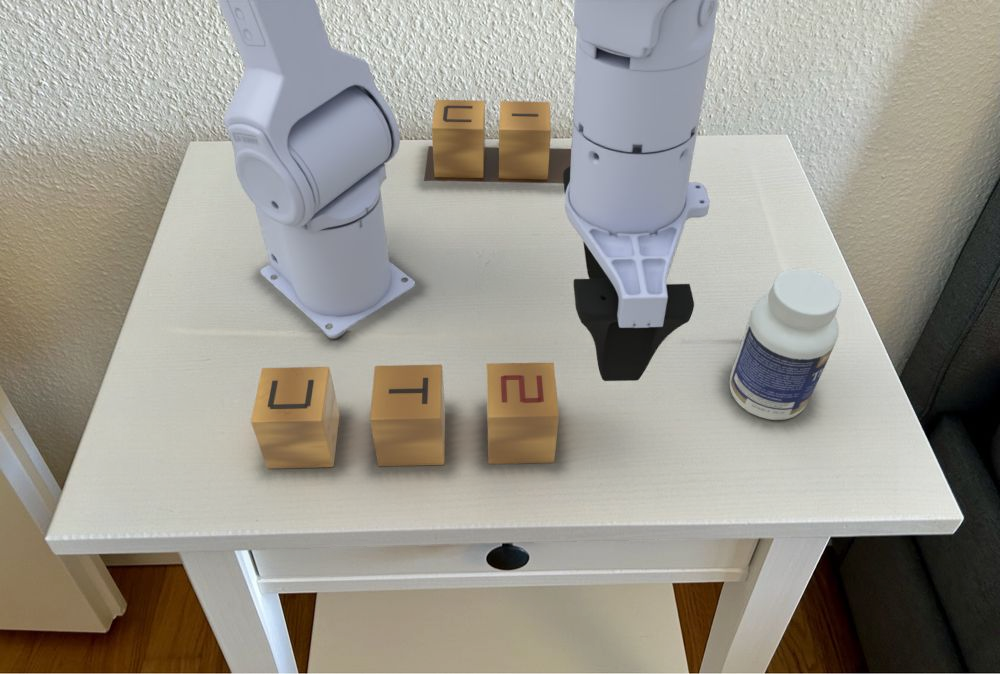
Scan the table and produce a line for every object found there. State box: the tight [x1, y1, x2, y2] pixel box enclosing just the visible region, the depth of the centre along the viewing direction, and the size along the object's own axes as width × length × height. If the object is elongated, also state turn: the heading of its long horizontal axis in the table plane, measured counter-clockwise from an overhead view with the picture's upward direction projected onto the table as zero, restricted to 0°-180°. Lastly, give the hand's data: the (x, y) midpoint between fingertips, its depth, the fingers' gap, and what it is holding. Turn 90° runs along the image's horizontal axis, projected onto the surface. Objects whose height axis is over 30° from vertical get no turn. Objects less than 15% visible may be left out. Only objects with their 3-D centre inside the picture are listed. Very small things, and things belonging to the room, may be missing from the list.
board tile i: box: [498, 100, 552, 180], centre depth 72 cm, size 4×4×5 cm
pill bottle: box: [729, 267, 842, 421], centre depth 54 cm, size 5×5×10 cm
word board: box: [423, 145, 571, 185], centre depth 74 cm, size 20×5×1 cm, turn 89°
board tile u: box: [431, 99, 486, 178], centre depth 72 cm, size 4×4×5 cm
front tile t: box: [369, 364, 446, 467], centre depth 53 cm, size 4×4×5 cm
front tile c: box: [250, 366, 341, 470], centre depth 53 cm, size 4×4×5 cm
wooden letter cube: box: [486, 361, 560, 465], centre depth 53 cm, size 4×4×5 cm
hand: (613, 325), depth 49 cm, fingers open, 7 cm apart
